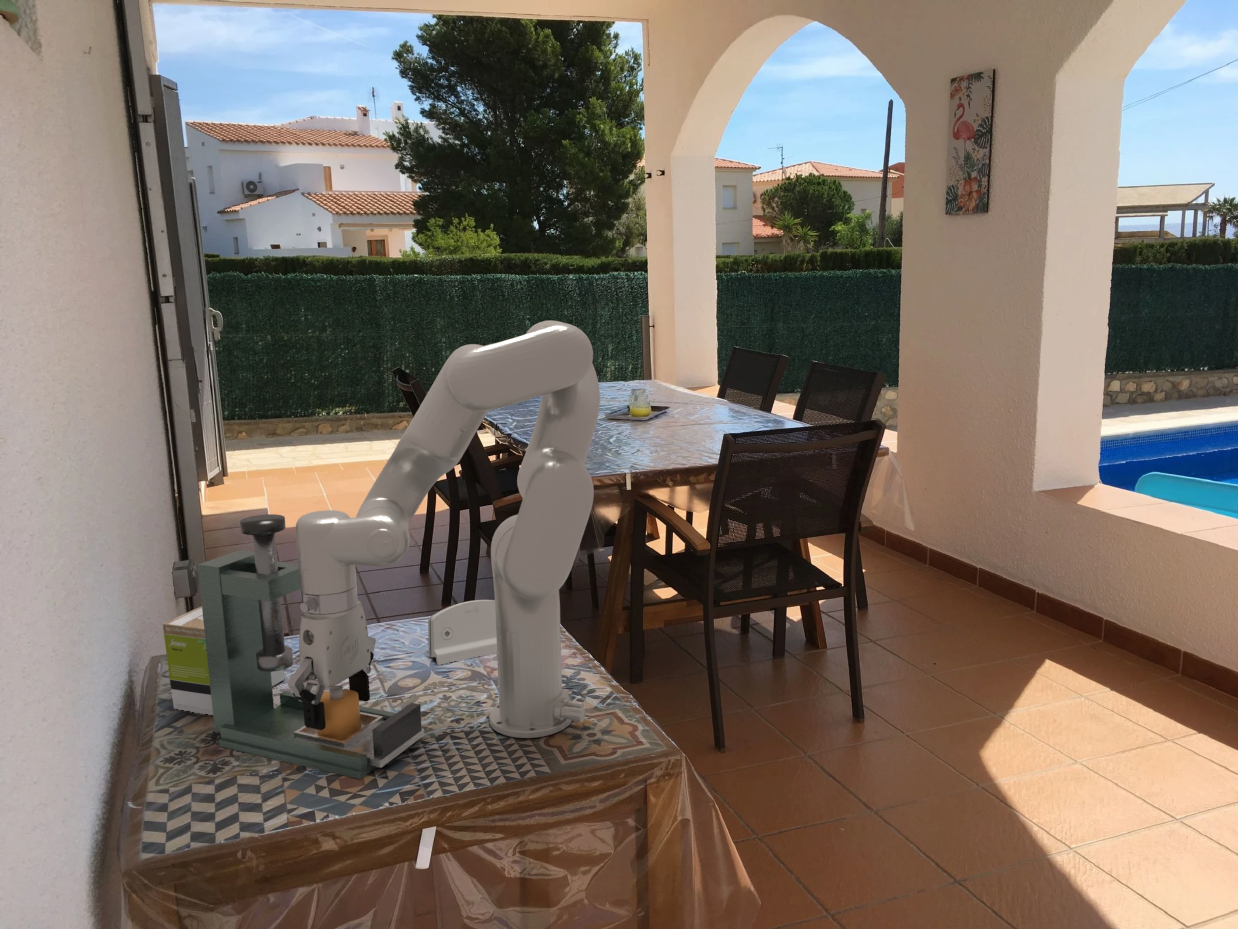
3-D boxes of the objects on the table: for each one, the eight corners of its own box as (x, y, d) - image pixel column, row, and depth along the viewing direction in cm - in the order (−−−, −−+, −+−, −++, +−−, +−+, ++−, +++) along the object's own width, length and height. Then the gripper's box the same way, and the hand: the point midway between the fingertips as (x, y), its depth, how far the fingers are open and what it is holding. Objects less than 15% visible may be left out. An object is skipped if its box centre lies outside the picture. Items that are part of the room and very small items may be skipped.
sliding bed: (424, 735, 137) (422, 702, 137) (381, 767, 128) (378, 733, 128) (338, 717, 144) (336, 686, 143) (291, 747, 134) (288, 714, 134)
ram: (305, 660, 141) (293, 516, 137) (276, 675, 136) (263, 526, 132) (274, 654, 144) (261, 512, 140) (244, 669, 138) (230, 522, 134)
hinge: (436, 666, 165) (427, 608, 166) (428, 665, 169) (420, 609, 170) (525, 647, 173) (516, 592, 174) (516, 647, 177) (507, 594, 178)
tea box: (237, 673, 163) (230, 591, 161) (286, 681, 160) (279, 596, 157) (170, 710, 149) (160, 621, 147) (222, 719, 146) (213, 628, 143)
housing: (369, 725, 139) (366, 682, 137) (342, 743, 133) (339, 699, 132) (336, 718, 141) (332, 677, 140) (308, 736, 136) (304, 693, 134)
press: (421, 734, 140) (411, 564, 135) (360, 779, 128) (346, 594, 123) (268, 702, 152) (254, 545, 147) (198, 741, 139) (180, 570, 134)
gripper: (308, 623, 124) (318, 744, 127) (389, 584, 140) (396, 693, 143) (263, 616, 127) (274, 735, 130) (348, 578, 143) (356, 686, 146)
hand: (338, 713), depth 137 cm, fingers open, 9 cm apart
